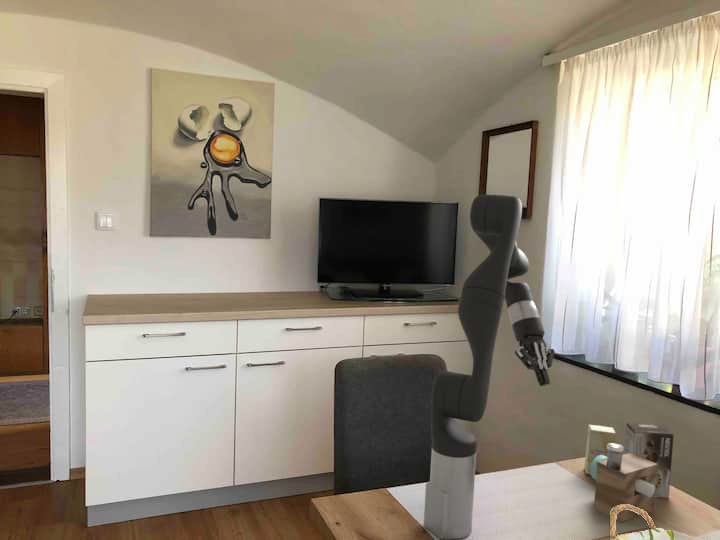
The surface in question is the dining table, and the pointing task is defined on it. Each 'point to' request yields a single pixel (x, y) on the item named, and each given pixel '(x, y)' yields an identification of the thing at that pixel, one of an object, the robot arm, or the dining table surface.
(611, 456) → the dial post
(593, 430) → the skincare box
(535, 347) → the robot arm
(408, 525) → the dining table surface
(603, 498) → the mount
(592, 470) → the knob
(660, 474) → the coffee box
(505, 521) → the dining table surface
